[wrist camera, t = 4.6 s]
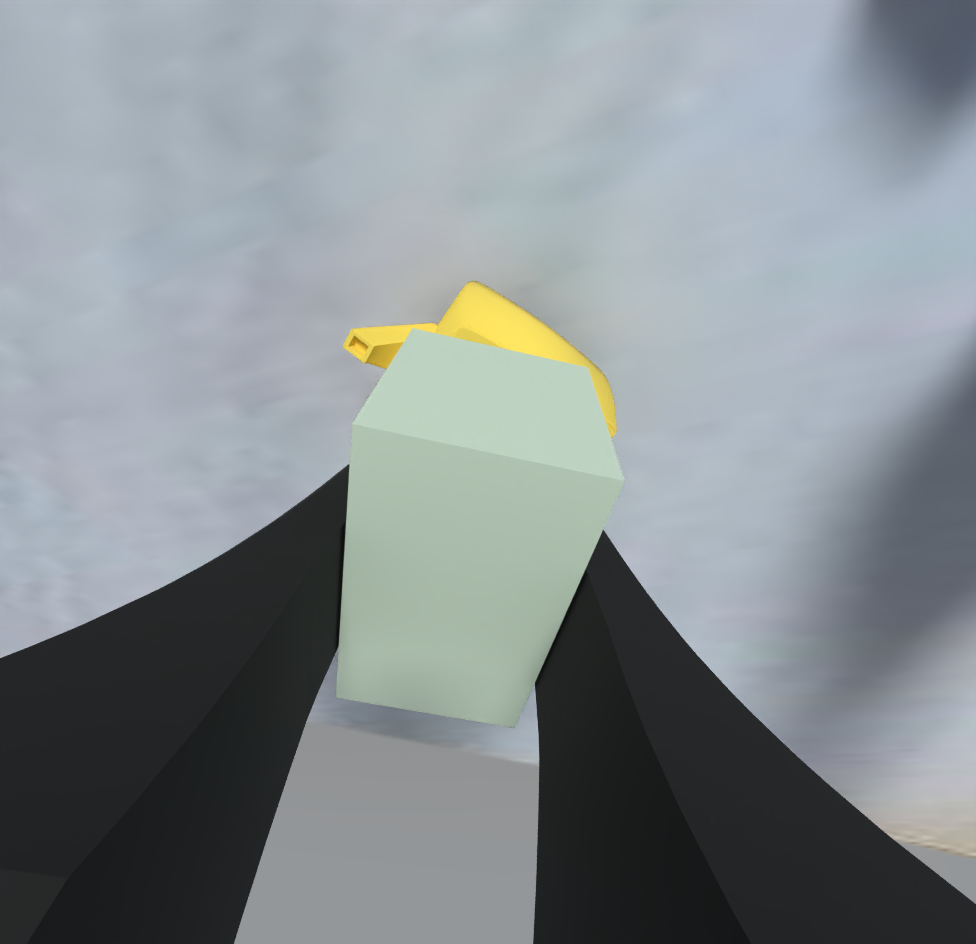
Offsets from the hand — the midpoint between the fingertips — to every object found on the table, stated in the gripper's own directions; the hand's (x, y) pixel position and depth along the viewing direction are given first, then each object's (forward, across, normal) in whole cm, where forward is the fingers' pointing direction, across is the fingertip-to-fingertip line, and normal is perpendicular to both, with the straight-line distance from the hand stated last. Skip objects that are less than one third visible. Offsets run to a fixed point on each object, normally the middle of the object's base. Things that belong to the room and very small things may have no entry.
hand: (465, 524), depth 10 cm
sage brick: (+2, 0, 0) cm, 2 cm away
